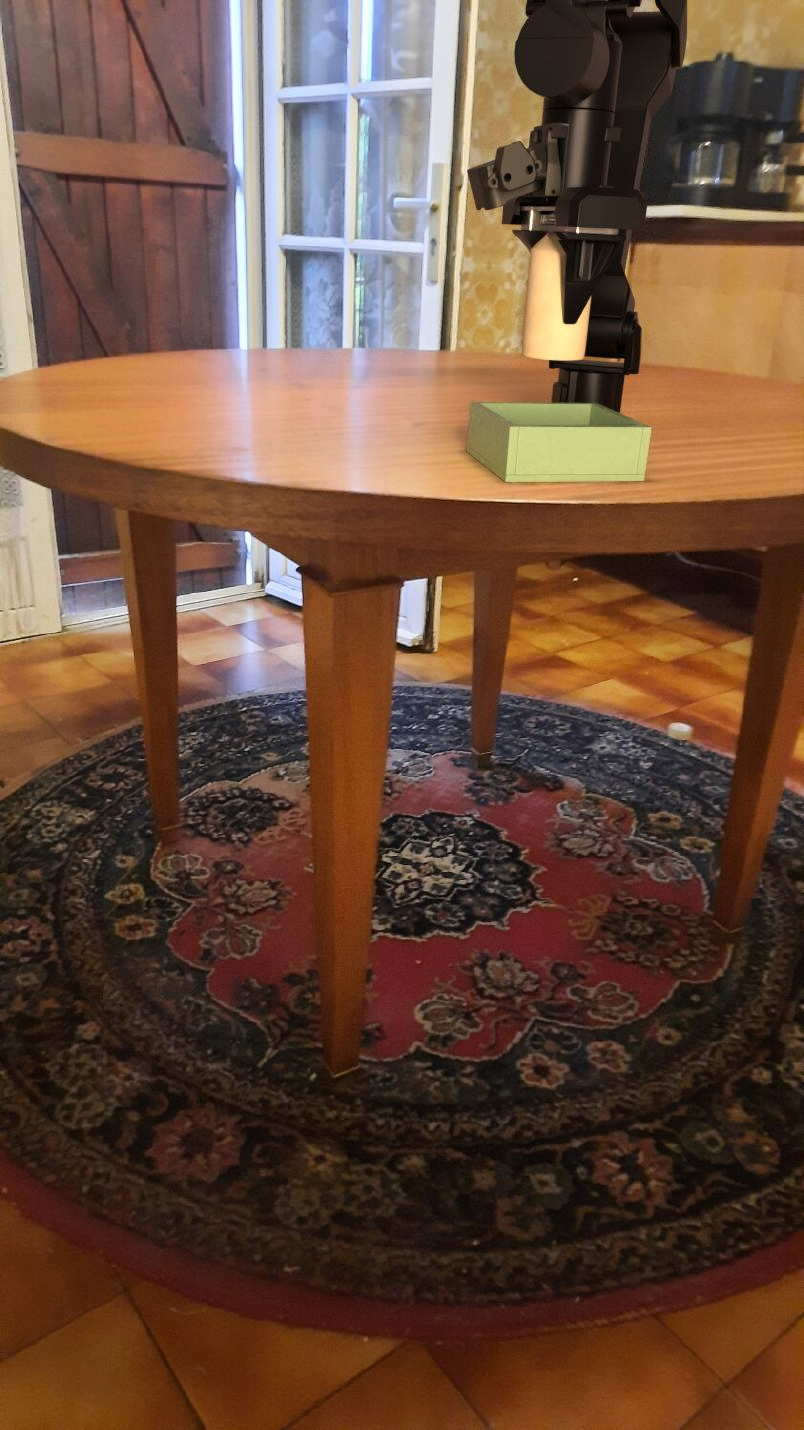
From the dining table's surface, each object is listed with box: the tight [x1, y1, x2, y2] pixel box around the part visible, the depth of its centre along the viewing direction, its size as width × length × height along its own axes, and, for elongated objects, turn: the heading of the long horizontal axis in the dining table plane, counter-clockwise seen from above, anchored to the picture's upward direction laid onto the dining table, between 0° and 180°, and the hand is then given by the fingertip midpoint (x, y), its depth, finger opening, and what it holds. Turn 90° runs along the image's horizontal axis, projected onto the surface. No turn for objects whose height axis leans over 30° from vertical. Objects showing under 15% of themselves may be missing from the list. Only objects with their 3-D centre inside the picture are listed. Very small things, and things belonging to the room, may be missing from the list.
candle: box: [521, 231, 591, 361], centre depth 87 cm, size 6×6×10 cm
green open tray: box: [466, 401, 653, 483], centre depth 92 cm, size 13×13×5 cm
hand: (557, 320), depth 88 cm, fingers closed on candle, 5 cm apart
